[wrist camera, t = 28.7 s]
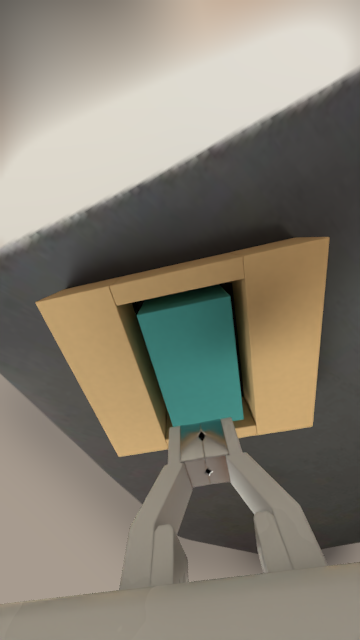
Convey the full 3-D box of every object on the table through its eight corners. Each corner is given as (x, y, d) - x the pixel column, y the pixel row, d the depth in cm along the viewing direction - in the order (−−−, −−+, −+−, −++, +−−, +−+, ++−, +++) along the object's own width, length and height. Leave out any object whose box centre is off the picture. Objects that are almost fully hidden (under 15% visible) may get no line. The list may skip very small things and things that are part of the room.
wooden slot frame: (295, 237, 12) (330, 236, 9) (291, 397, 18) (312, 426, 15) (64, 289, 13) (34, 302, 11) (127, 425, 19) (118, 457, 16)
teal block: (219, 284, 13) (230, 295, 11) (233, 390, 17) (244, 419, 14) (144, 300, 14) (136, 315, 11) (174, 401, 18) (174, 431, 15)
